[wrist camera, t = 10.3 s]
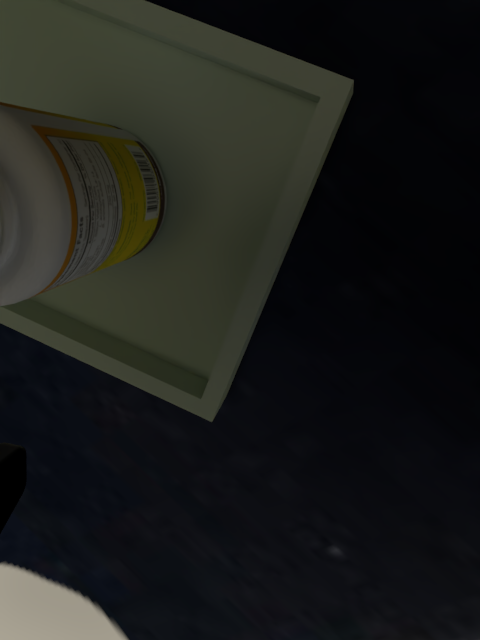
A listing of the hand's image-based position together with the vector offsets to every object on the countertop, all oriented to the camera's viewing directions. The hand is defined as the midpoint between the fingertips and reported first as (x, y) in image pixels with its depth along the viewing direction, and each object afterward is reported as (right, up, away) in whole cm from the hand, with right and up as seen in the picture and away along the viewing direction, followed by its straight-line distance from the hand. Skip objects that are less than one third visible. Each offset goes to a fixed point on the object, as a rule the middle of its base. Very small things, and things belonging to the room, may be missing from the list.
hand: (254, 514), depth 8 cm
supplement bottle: (-6, +9, +11) cm, 15 cm away
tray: (-6, +9, +12) cm, 16 cm away
